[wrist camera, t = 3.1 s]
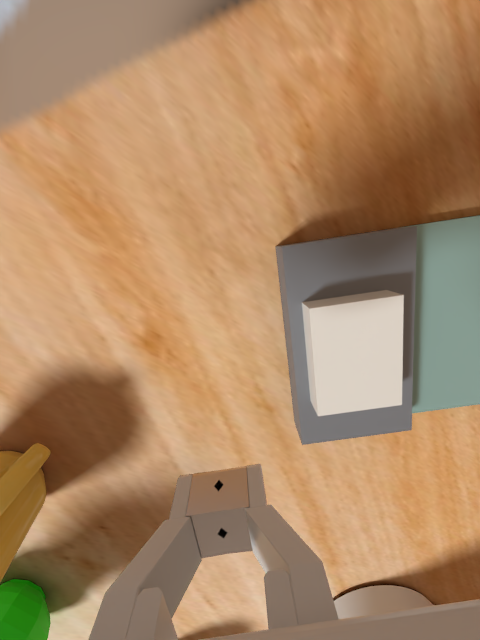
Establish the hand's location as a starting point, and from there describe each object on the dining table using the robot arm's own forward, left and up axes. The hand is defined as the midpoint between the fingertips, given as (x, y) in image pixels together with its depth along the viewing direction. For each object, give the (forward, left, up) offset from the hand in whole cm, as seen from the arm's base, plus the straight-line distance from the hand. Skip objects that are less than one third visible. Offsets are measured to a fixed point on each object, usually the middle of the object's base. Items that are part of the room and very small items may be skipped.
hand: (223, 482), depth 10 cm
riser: (0, -9, -14) cm, 17 cm away
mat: (0, -19, -14) cm, 23 cm away
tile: (0, -9, -11) cm, 14 cm away
